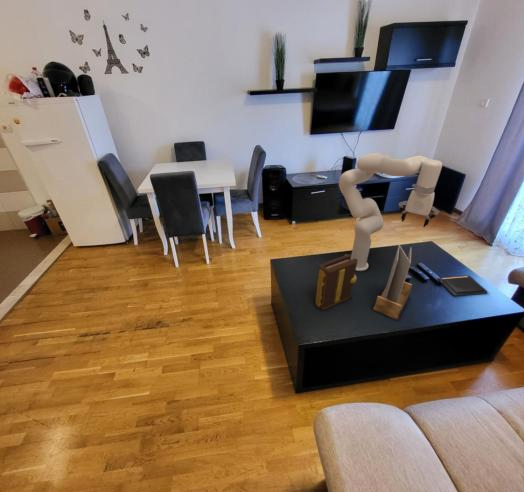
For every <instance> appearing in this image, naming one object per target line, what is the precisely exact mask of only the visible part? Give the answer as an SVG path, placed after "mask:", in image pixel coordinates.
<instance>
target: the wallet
mask: <svg viewBox="0 0 524 492" xmlns="http://www.w3.org/2000/svg"><path fill="white" fill-rule="evenodd" d="M436 279H437V281H438V282H439V283H440V285H442V286H443V287H444V289H445V290H447V292H448V293H449V294H450V295H451V296H453V297H463V296H473V295H474V296H475V295H487V294H488V291H487V290H486V288H484V287H483V286H482V285H481V284H480V283H479V282H477V281H476V280H475V279H474V278H473V277H472V276H470V275H463V276H450V277H437V278H436ZM441 281H442V282H441Z"/></svg>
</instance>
